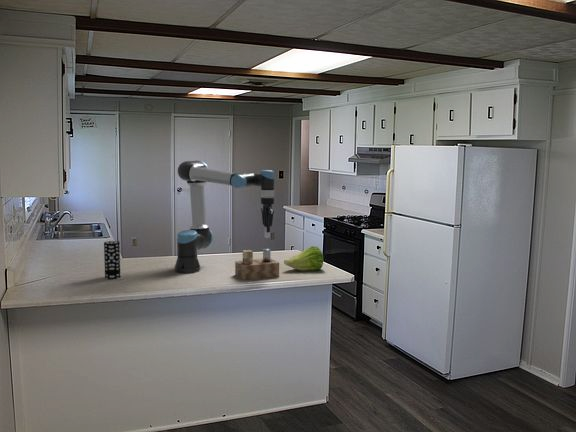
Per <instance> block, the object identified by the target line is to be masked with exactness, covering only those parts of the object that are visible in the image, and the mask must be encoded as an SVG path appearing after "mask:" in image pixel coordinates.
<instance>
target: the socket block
mask: <svg viewBox="0 0 576 432" xmlns="http://www.w3.org/2000/svg"><path fill="white" fill-rule="evenodd" d="M234 262H235V263H234V272H235V273H234V274H235V276H236V277H238V278H240V279H242V280H243V281H249V280H257V279H267V278H276V277H280V262H279V261H276V260H275V259H272V258H270V262H263V258H258V259H257V258H256V259H253V264H244V263H243V260H236V261H234Z"/></svg>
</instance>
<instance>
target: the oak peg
mask: <svg viewBox="0 0 576 432" xmlns="http://www.w3.org/2000/svg"><path fill="white" fill-rule="evenodd" d="M253 260H254V251H253V250H250V249H248V250H247V249H244V250H242V261H243V263H244V264H253Z"/></svg>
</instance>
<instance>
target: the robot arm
mask: <svg viewBox="0 0 576 432" xmlns="http://www.w3.org/2000/svg"><path fill="white" fill-rule="evenodd" d="M177 167H178V168H177V175H178V177H179V178H180V179H181V180H182V181H184V182H185V181H186V185H189V193H190V195H189V196H190V197H189V198H190V208H191V209H190V211H191V226H190V227H189V229H186V230H181V231H179V232H178V233H177V236H176V242H177V243H176V244H177V245H176V246H177V247H176V248H177V252H176V254H177V255H176V256H177V257H176V261H175V265H174V272H176V273H181V274H191V273H192V274H193V273H197V272H199V271H201V264H200V262H199V259H198V251H199V250H202V249H203V250H204V249H207V248H208V247H210V246H211V245H212V243H213V240H214V234H213V232H212V230H211V229H210V226H209V225H208V224H207V214H206V212H207V211H206V210H207V209H206V197H205V196H206V195H205V185H206V183H212V184H216V185H217V184H218V185H224V186H231V187H233V188H235V189H243V188H248V187H260V204H261V205H262V207H261V208H260V211H261V221H262V225H263V226H264V238H265V239H270V238H271V227H272V226H273V220H274V213H275V210H274V209H273V206H272V205H274V204H275V171H274V170H272V169H270V170H269V169H262V170H261V171H260V173H256V172H244V173H237V172H230V171H225V170H220V169H219V170H217V169H212V168H210V167H209V165H208V164H206V163H205V162H204V161H202V160H186V161H183V162H181V163H180V164H179V165H178V166H177Z"/></svg>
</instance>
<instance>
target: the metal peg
mask: <svg viewBox="0 0 576 432" xmlns="http://www.w3.org/2000/svg"><path fill="white" fill-rule="evenodd" d="M271 256H272V255H271V248H263V249H262V259H263V262H270V259H272V258H271Z"/></svg>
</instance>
